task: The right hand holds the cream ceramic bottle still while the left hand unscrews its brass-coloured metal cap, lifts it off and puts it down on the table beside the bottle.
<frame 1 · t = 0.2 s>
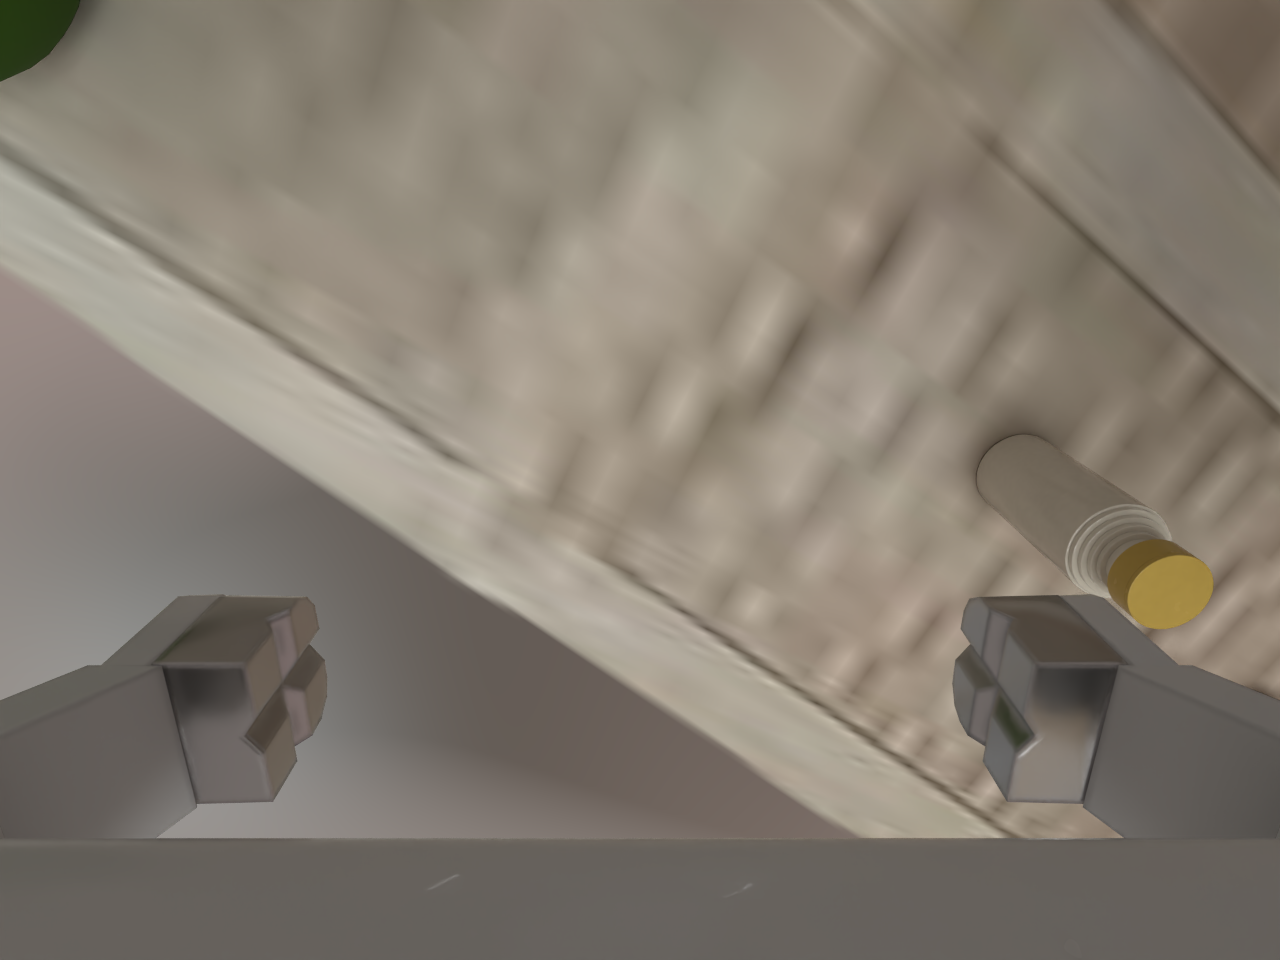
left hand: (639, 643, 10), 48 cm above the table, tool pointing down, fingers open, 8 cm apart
cap: (1167, 590, 43), point 18 cm above the table, screwed on, not yet turned
bottle: (1017, 473, 60), on the table
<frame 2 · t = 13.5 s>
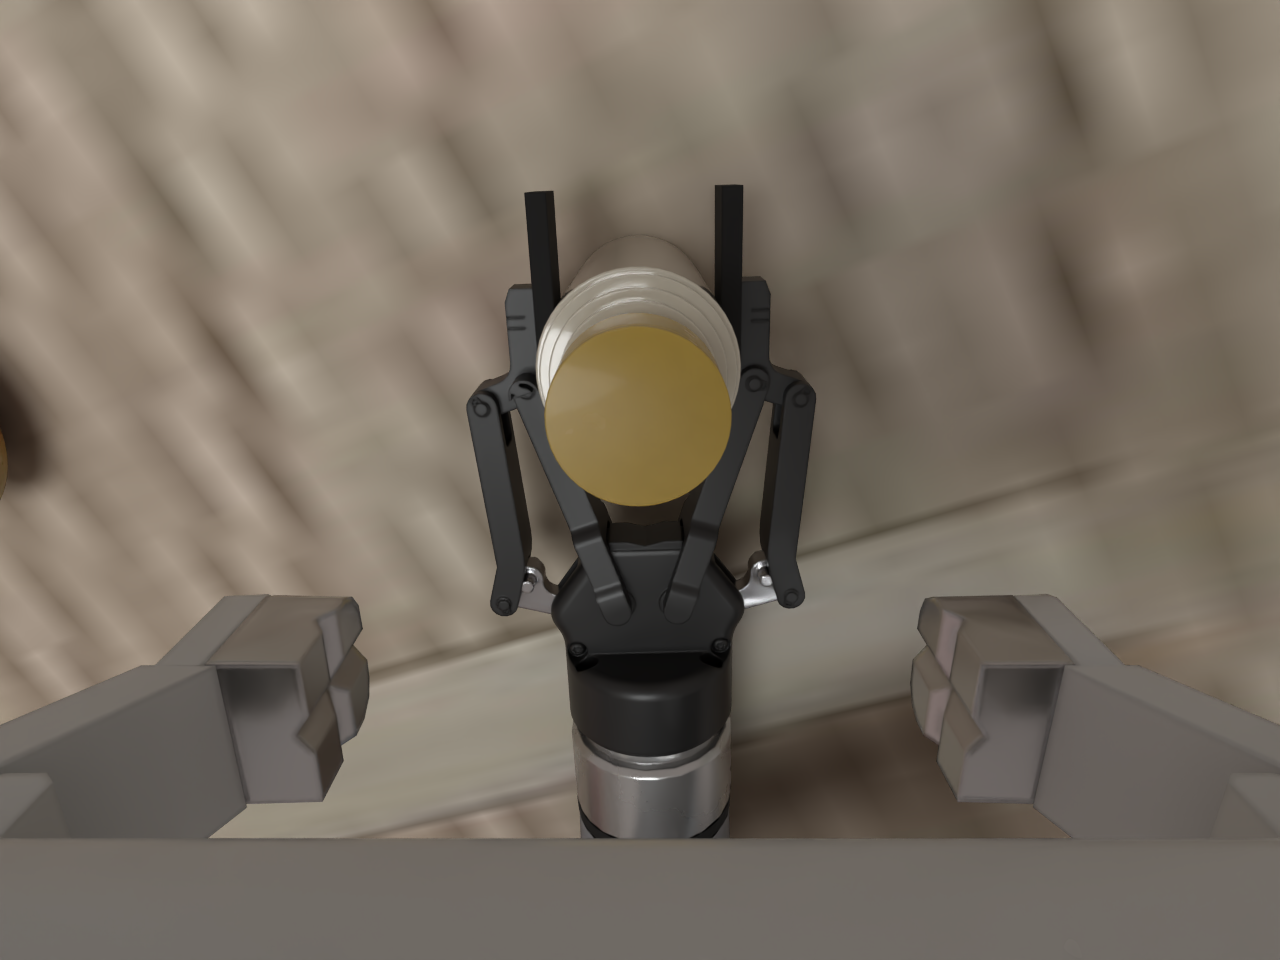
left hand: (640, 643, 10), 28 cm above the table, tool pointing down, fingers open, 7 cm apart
right hand: (633, 189, 29), fingers closed on bottle, 6 cm apart
cap: (638, 416, 19), point 18 cm above the table, screwed on, not yet turned
bottle: (638, 305, 37), on the table, touching right hand
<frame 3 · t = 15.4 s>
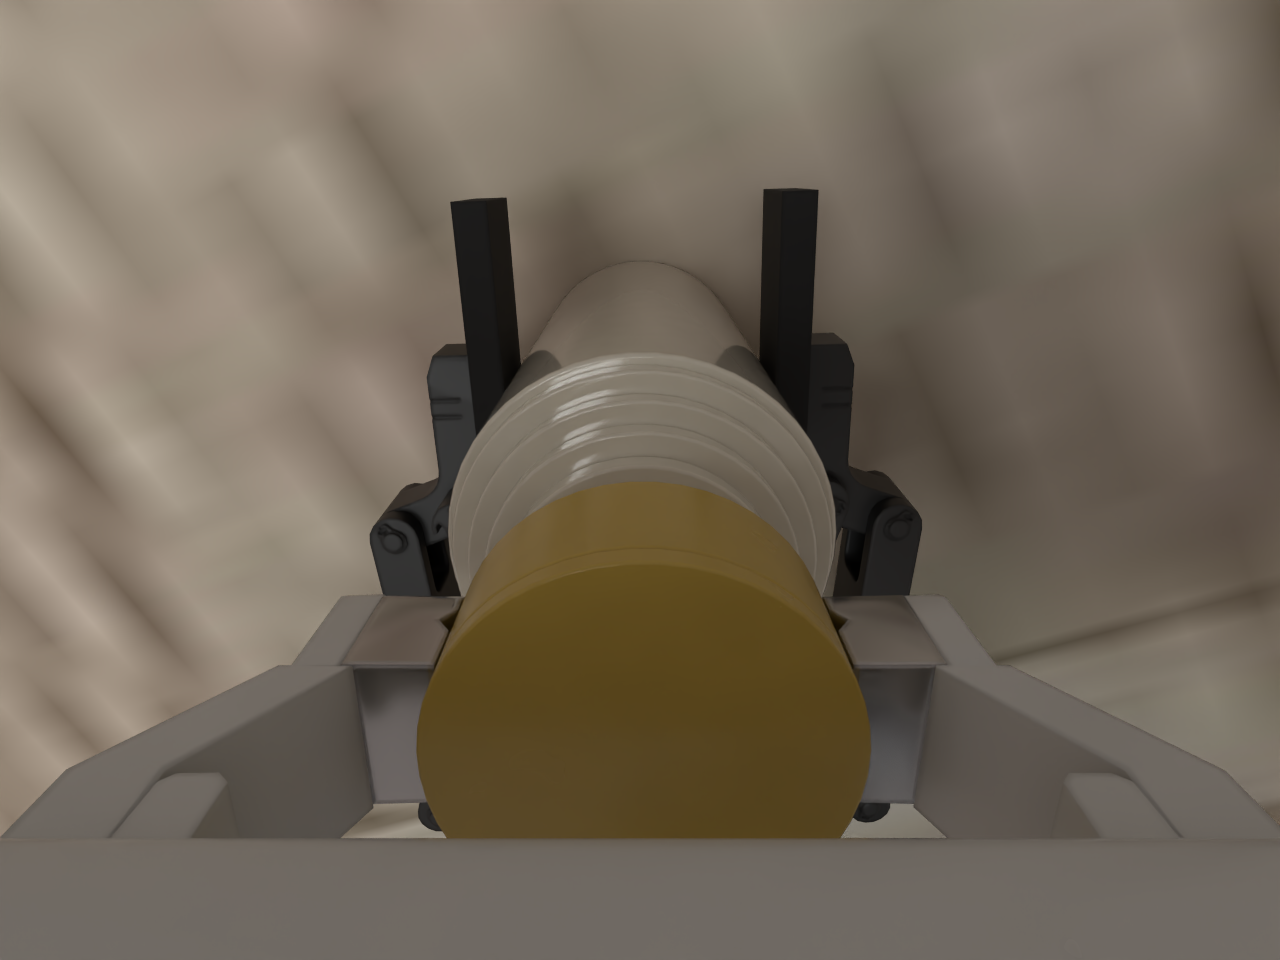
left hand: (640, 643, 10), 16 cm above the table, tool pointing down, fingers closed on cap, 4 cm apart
cap: (643, 745, 8), point 18 cm above the table, screwed on, not yet turned, touching left hand
bottle: (640, 361, 25), on the table, touching right hand
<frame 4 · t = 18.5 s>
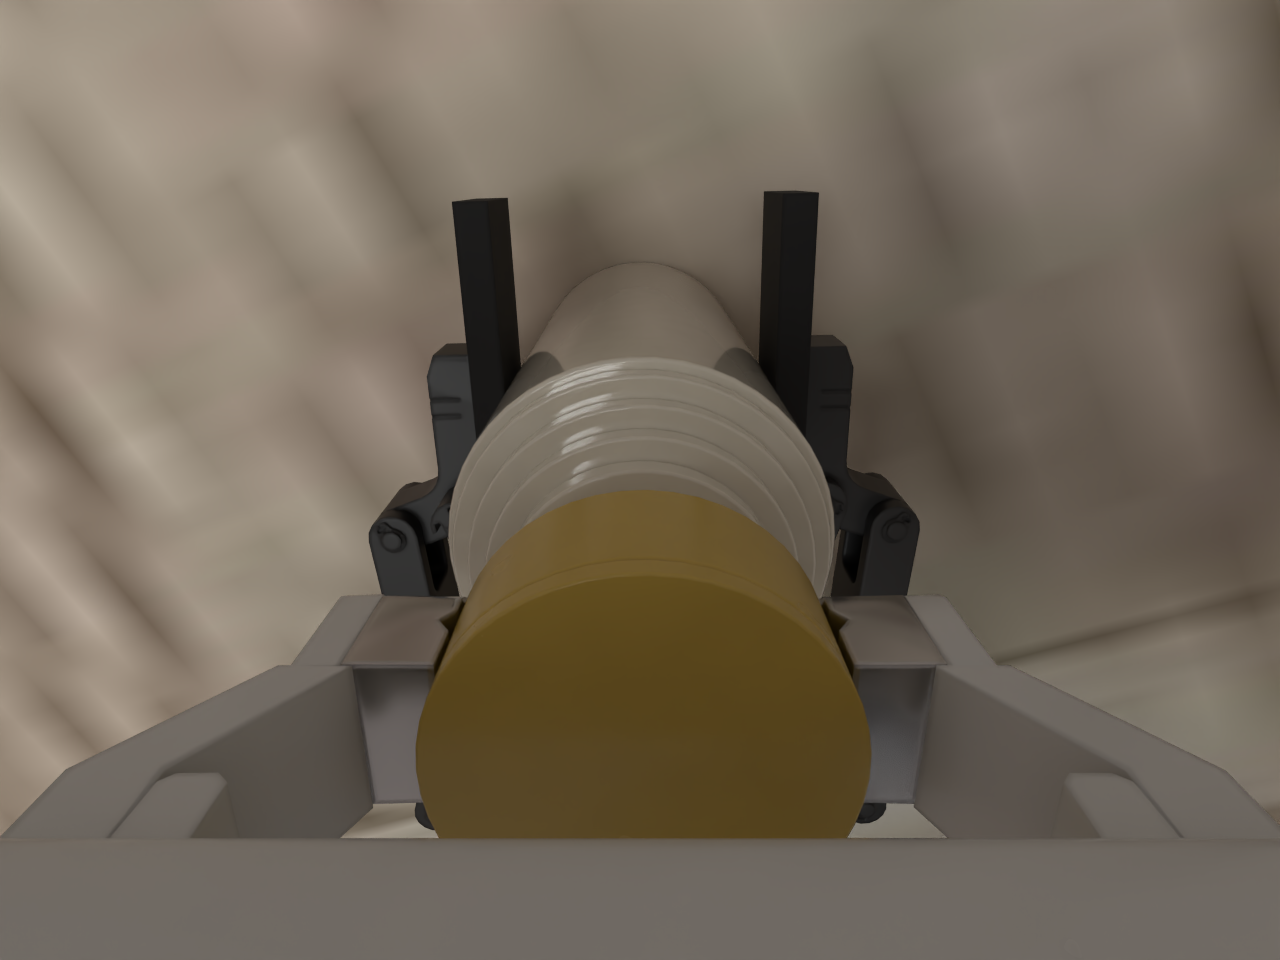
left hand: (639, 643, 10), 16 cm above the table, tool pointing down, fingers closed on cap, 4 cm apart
cap: (643, 755, 8), point 18 cm above the table, turned 78° so far, risen 0.1 cm, still on its thread, touching left hand
bottle: (640, 361, 25), on the table, touching right hand
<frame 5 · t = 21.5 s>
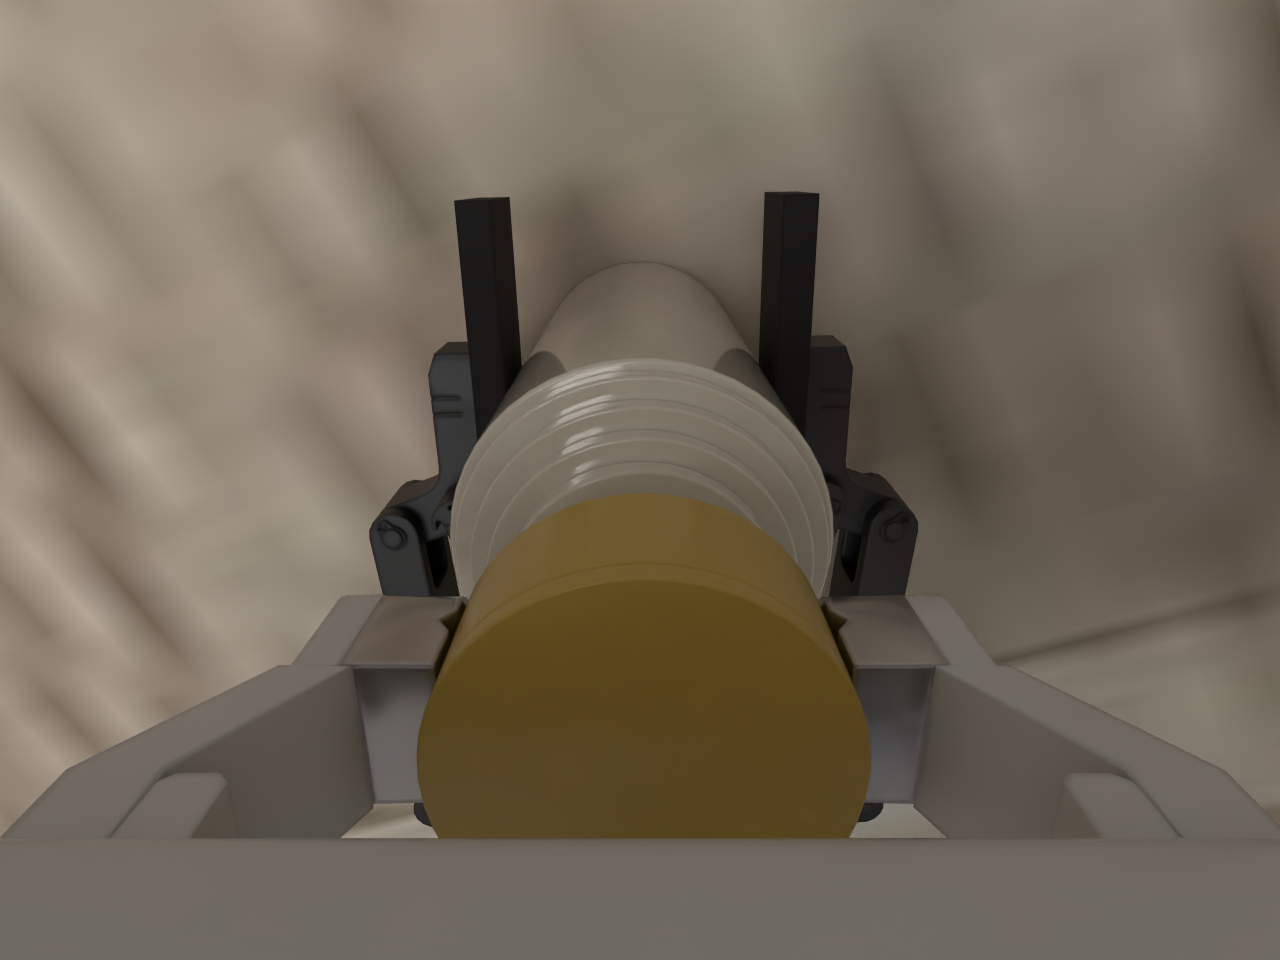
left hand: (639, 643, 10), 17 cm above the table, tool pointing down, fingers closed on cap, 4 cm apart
cap: (643, 758, 8), point 19 cm above the table, turned 155° so far, risen 0.2 cm, still on its thread, touching left hand
bottle: (640, 361, 25), on the table, touching right hand
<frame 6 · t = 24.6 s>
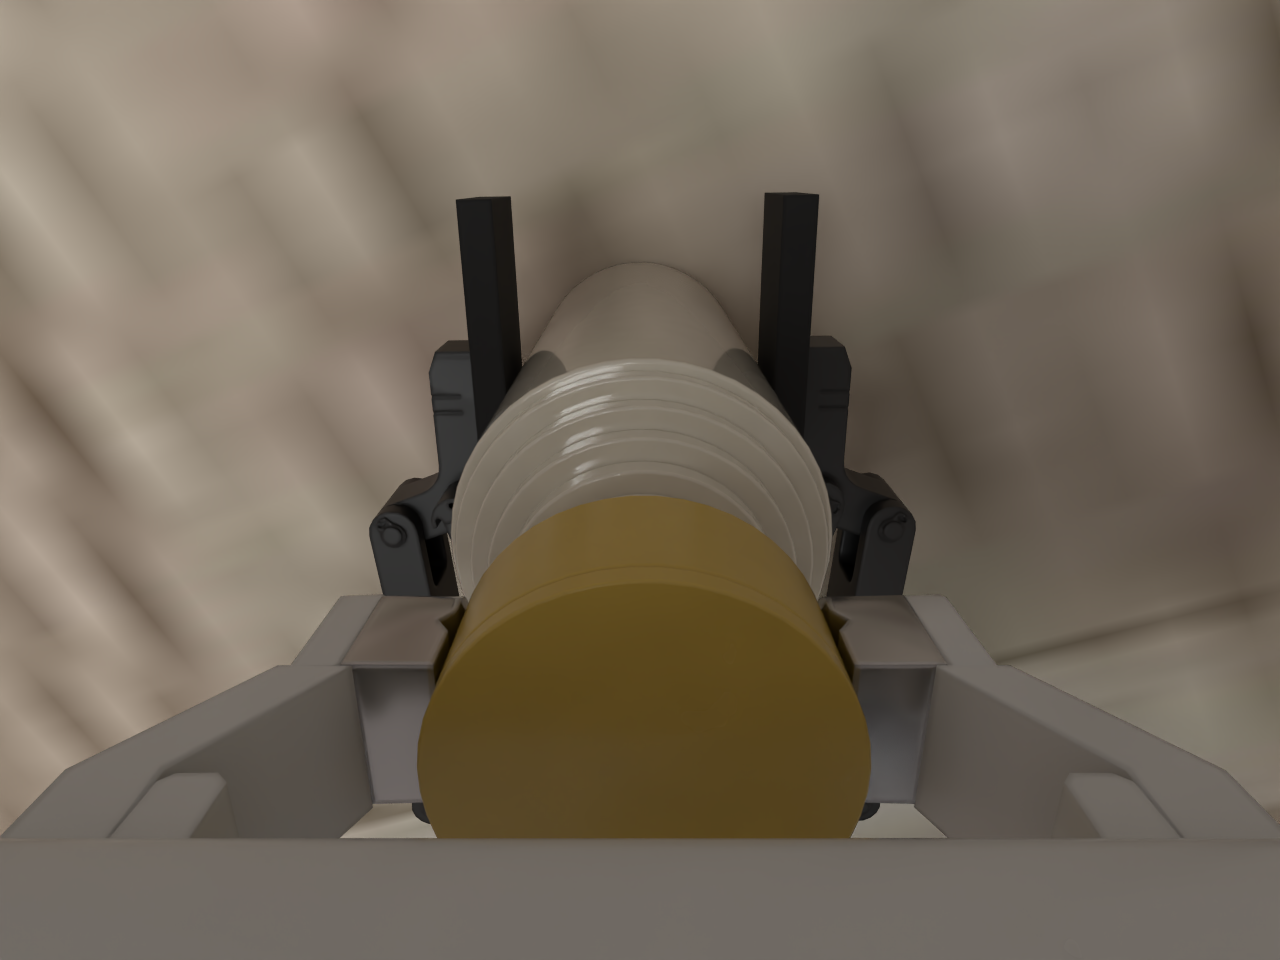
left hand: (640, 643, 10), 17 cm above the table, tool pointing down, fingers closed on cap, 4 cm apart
cap: (643, 761, 8), point 19 cm above the table, turned 233° so far, risen 0.2 cm, still on its thread, touching left hand
bottle: (639, 361, 26), on the table, touching right hand
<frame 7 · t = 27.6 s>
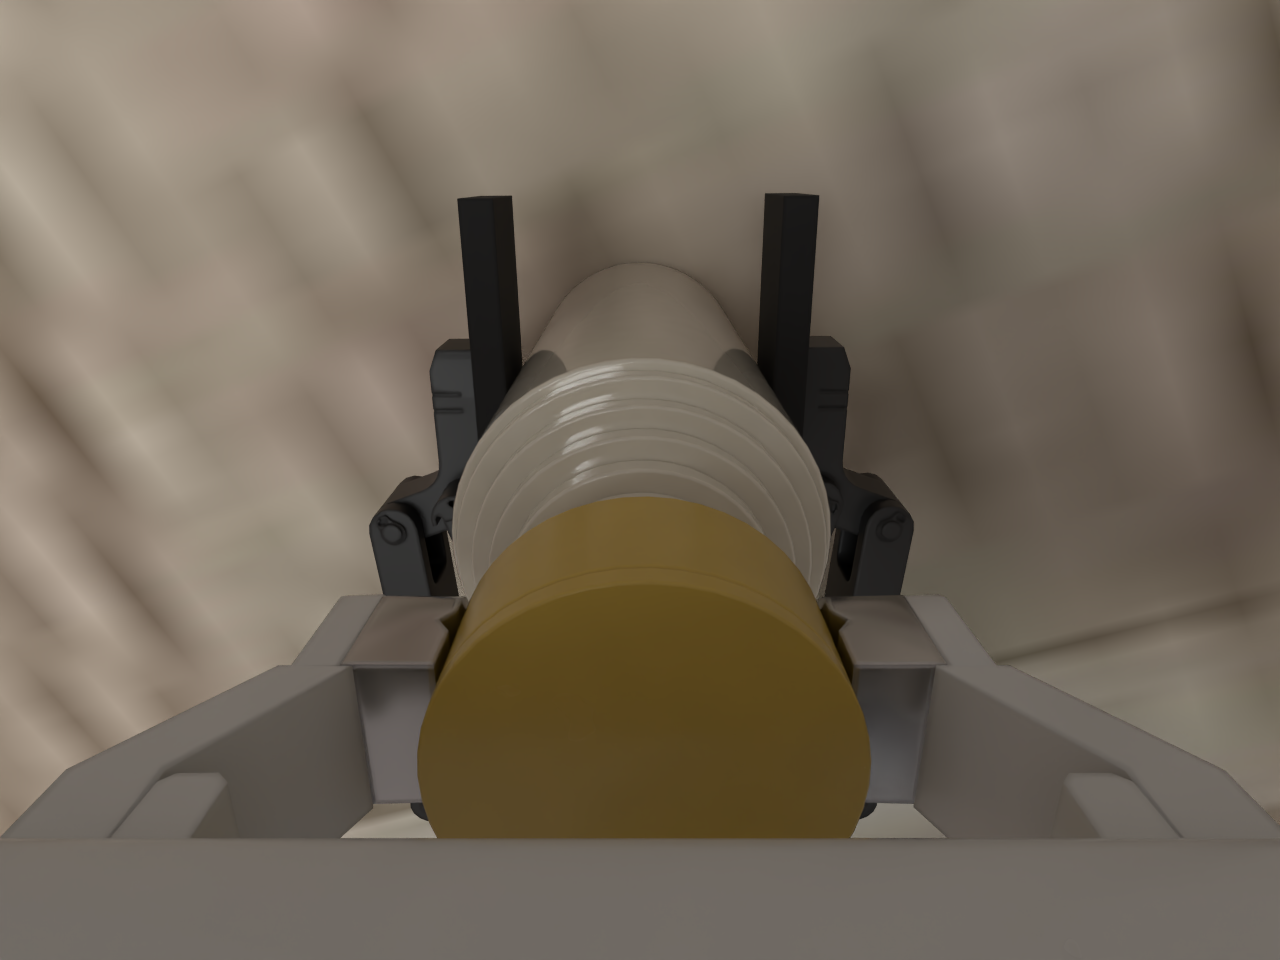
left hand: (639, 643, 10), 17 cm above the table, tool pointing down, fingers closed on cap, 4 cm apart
cap: (643, 761, 8), point 19 cm above the table, turned 311° so far, risen 0.3 cm, still on its thread, touching left hand
bottle: (639, 361, 26), on the table, touching right hand
when the left hand's fingers open (2 cm above the table, at t = 33.5 s): cap drops 2 cm, point 2 cm above the table.
when the right hand's fingers open (6 cm above the table, at t = 34.5 s): bottle stays where it is, on the table.
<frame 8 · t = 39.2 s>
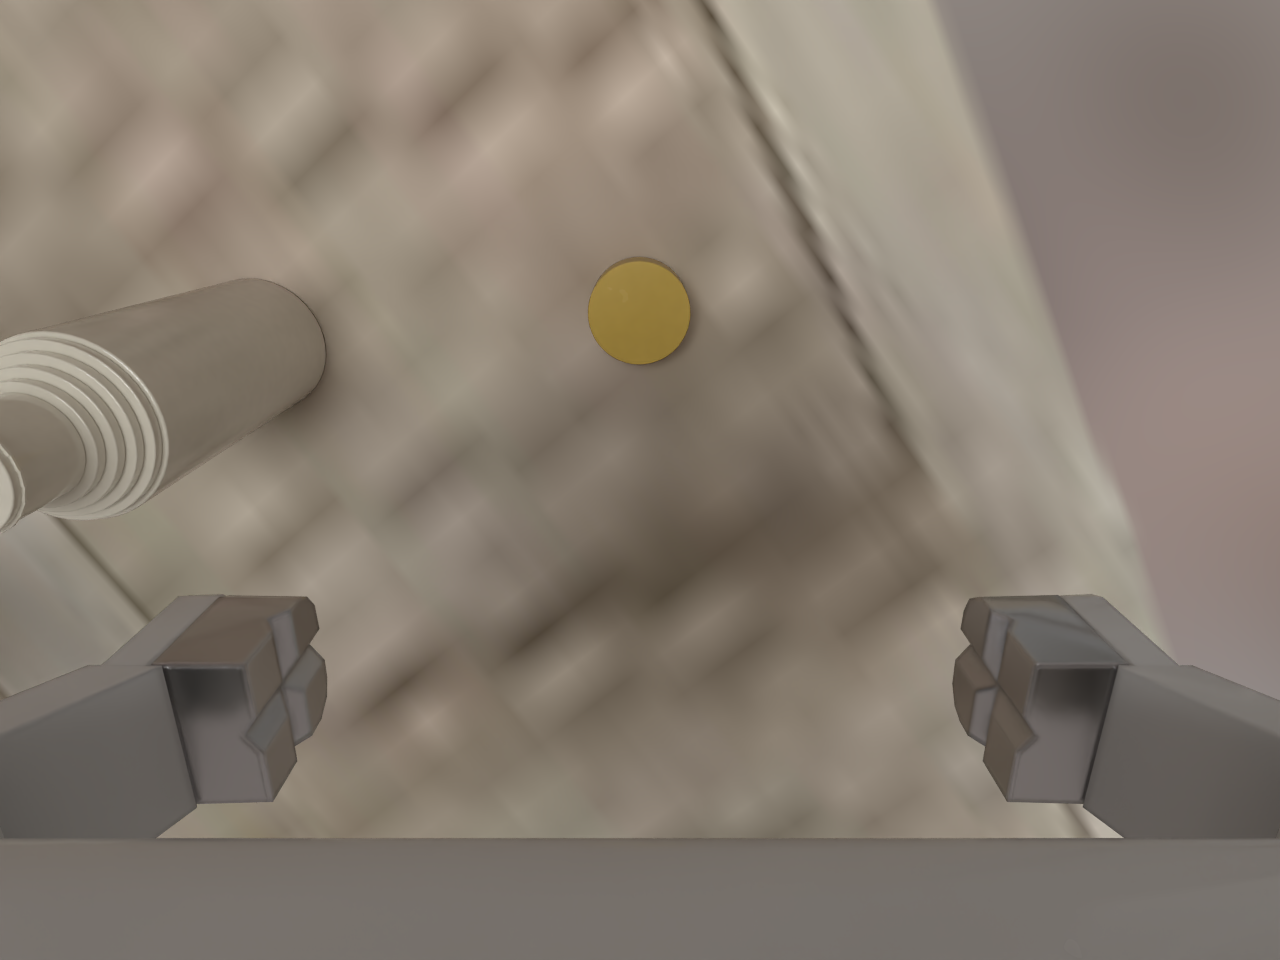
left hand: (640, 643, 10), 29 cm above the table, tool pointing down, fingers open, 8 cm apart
cap: (639, 313, 35), point 2 cm above the table, off its thread
bottle: (260, 345, 38), on the table
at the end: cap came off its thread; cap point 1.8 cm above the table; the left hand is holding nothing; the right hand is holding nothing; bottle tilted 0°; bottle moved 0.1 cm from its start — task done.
